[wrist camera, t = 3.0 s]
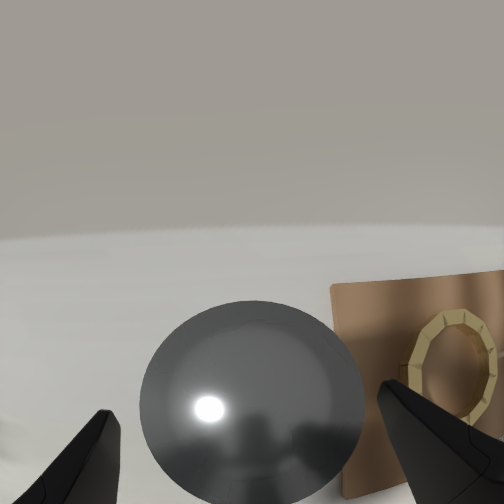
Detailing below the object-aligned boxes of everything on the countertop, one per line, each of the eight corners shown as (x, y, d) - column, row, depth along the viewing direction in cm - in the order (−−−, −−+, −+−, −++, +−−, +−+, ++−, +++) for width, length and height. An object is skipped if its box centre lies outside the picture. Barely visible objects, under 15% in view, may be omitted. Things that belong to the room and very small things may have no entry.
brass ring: (498, 378, 15) (509, 377, 14) (429, 457, 14) (439, 460, 12) (455, 291, 18) (465, 286, 17) (376, 362, 16) (385, 360, 15)
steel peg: (295, 399, 16) (398, 434, 5) (227, 436, 15) (213, 538, 4) (256, 336, 17) (294, 263, 6) (189, 371, 16) (104, 360, 5)
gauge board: (519, 270, 20) (531, 263, 19) (535, 408, 15) (548, 407, 13) (329, 287, 19) (338, 278, 17) (342, 495, 13) (351, 505, 12)
